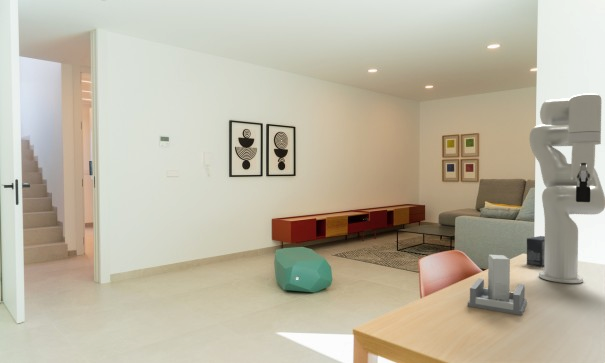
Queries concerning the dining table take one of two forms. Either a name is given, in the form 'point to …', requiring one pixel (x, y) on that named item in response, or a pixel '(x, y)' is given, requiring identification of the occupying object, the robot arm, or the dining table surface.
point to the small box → (536, 251)
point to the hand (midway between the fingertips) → (583, 200)
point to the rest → (483, 301)
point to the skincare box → (498, 277)
